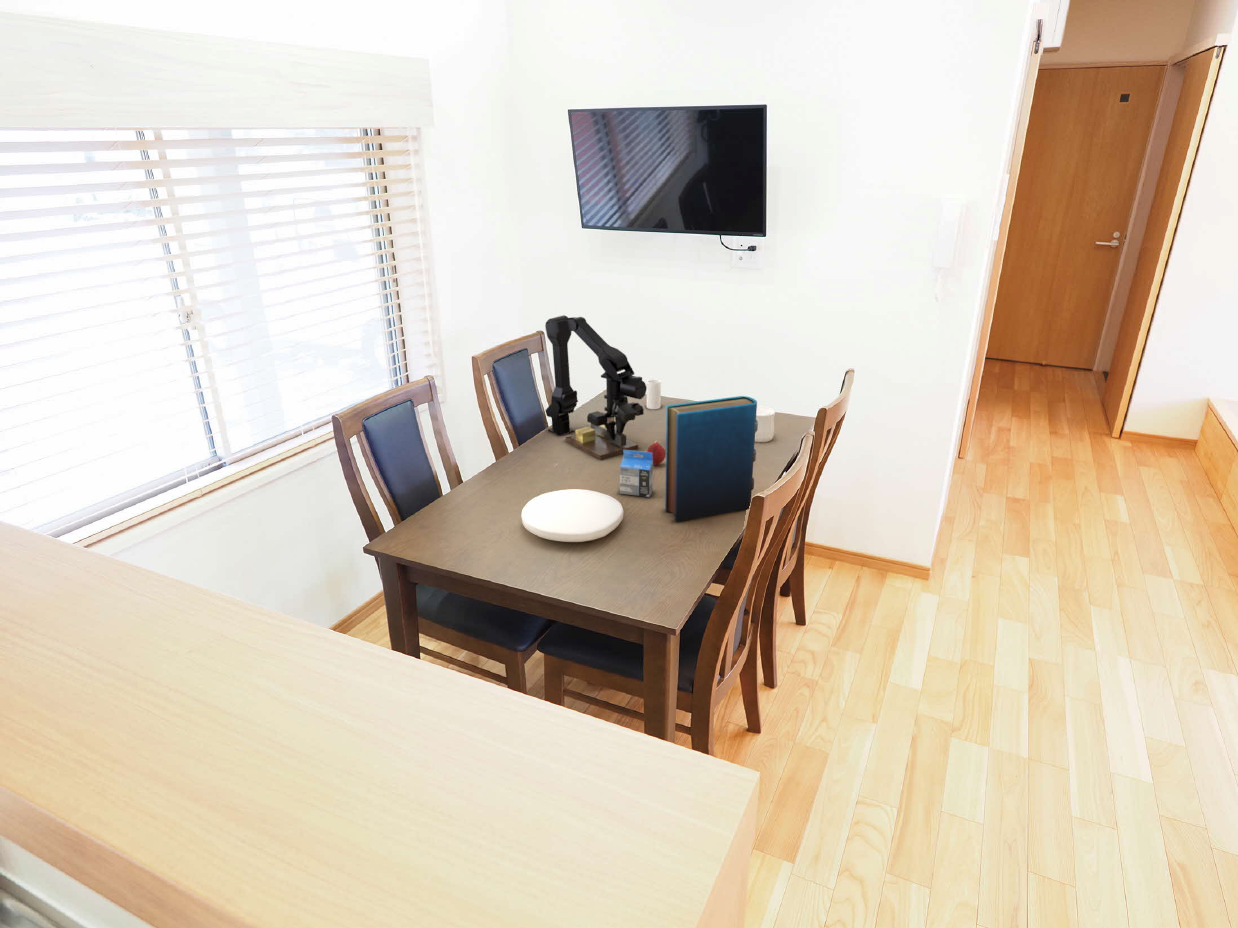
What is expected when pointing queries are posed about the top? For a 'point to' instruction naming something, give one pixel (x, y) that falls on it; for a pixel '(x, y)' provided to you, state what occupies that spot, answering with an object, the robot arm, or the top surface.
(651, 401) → the cup
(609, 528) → the white round disc
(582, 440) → the cutting board
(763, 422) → the cup
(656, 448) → the onion
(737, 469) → the book
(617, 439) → the butter knife
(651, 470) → the label tape box
